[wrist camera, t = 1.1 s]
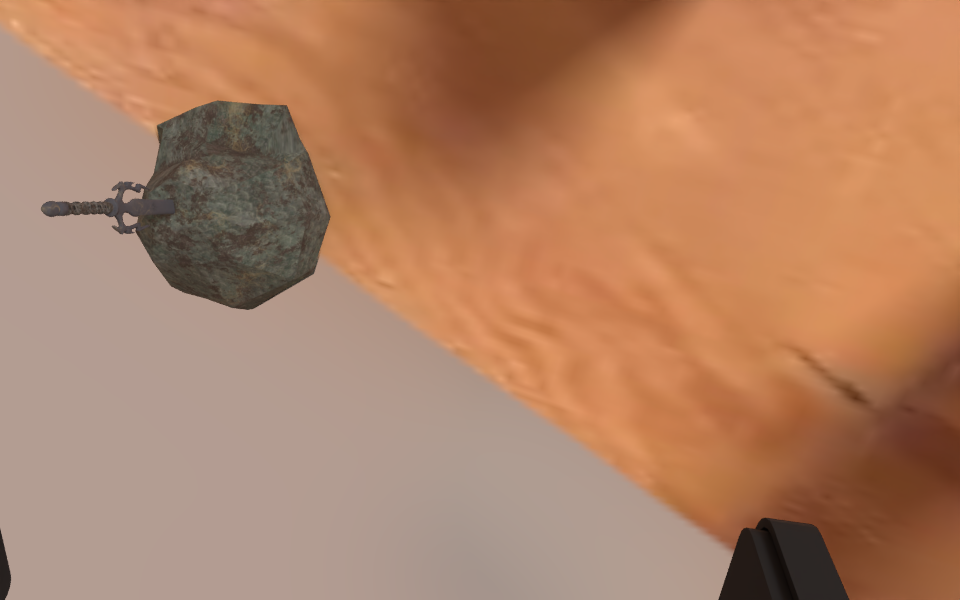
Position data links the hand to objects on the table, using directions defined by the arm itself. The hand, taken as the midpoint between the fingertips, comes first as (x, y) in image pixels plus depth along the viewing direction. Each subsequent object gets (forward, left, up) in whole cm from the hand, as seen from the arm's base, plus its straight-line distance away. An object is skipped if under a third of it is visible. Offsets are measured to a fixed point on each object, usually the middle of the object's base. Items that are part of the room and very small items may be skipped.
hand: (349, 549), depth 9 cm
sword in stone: (+12, 0, -25) cm, 27 cm away
